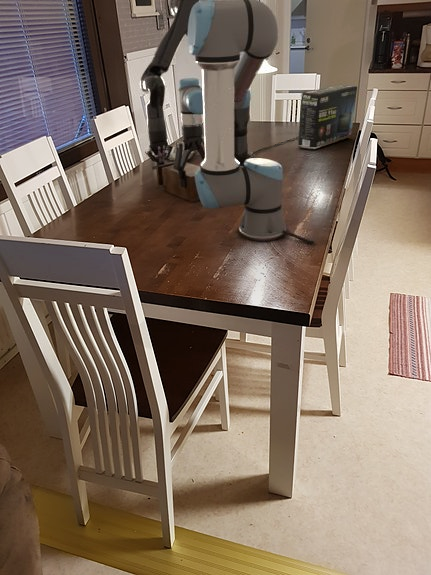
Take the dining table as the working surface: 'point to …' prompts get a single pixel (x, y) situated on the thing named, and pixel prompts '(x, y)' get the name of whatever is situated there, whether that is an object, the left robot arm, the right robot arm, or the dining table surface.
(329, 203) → the dining table surface
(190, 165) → the dark wooden box
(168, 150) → the left robot arm
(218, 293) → the dining table surface
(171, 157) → the fossil
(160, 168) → the dark piece
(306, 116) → the router box
